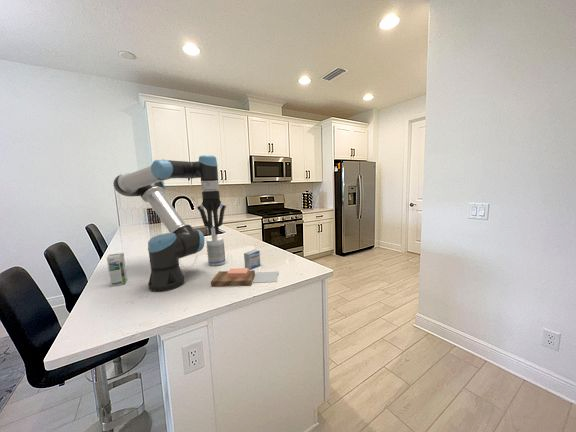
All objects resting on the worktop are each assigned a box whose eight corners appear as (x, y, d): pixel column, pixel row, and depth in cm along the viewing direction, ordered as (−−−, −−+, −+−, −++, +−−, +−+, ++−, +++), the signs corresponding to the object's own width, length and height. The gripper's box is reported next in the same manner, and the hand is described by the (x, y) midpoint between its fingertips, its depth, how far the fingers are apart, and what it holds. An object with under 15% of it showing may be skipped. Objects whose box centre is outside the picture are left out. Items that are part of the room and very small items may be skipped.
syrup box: (110, 287, 110) (106, 257, 107) (113, 282, 115) (109, 253, 113) (125, 284, 112) (121, 255, 110) (127, 279, 117) (123, 251, 115)
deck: (211, 286, 106) (210, 281, 105) (219, 276, 118) (218, 271, 117) (250, 285, 105) (250, 280, 105) (254, 275, 117) (254, 270, 117)
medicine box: (250, 269, 125) (249, 254, 123) (244, 268, 127) (243, 252, 126) (260, 265, 131) (259, 250, 130) (255, 263, 134) (254, 249, 132)
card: (227, 277, 109) (227, 273, 109) (230, 272, 115) (230, 268, 115) (246, 277, 109) (246, 272, 109) (248, 272, 115) (248, 268, 115)
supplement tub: (228, 263, 136) (226, 238, 134) (213, 267, 130) (211, 242, 128) (220, 259, 143) (218, 236, 141) (205, 263, 137) (203, 239, 134)
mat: (253, 282, 108) (253, 282, 108) (256, 272, 120) (256, 272, 120) (276, 282, 108) (276, 281, 108) (278, 272, 120) (278, 271, 120)
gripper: (192, 191, 103) (197, 243, 106) (222, 190, 102) (226, 242, 106) (199, 190, 110) (203, 239, 114) (227, 189, 110) (230, 238, 113)
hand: (214, 241), depth 110 cm, fingers closed
